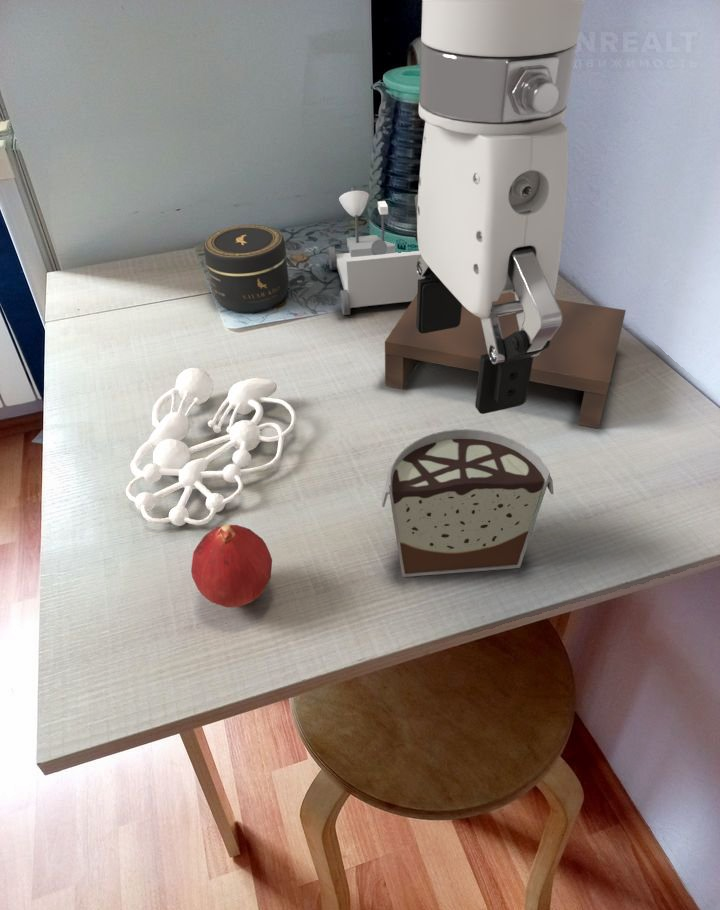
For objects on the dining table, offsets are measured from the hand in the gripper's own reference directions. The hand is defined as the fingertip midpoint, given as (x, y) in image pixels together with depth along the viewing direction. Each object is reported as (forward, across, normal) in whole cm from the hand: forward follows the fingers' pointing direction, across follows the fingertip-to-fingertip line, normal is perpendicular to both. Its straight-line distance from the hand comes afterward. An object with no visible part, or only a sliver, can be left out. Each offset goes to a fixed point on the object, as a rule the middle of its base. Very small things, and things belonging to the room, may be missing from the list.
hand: (466, 364), depth 47 cm
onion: (+18, 0, +18) cm, 25 cm away
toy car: (+18, +45, -9) cm, 49 cm away
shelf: (+17, +21, -15) cm, 31 cm away
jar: (+18, +47, +7) cm, 51 cm away
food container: (+17, -1, 0) cm, 17 cm away
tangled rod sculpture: (+18, +18, +16) cm, 30 cm away
